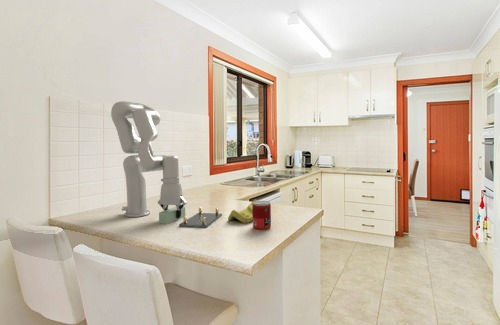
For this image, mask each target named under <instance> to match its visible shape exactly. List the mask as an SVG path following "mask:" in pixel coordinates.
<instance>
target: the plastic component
mask: <svg viewBox="0 0 500 325" xmlns="http://www.w3.org/2000/svg"><path fill="white" fill-rule="evenodd" d="M255 201H258V200H257V199H254V200H252V202H251V203H250V204H249V205H247V207H246V208H243V209H241V210H240V211H237V210H236V209H233V210H231V212H230V214H228V215H229V216H228V217H227V220H228V221H233V220H235V219H237V220H238V221H240V222H241V223H243V224H248V223H252V222H253V212H252V203H253V202H255Z"/></svg>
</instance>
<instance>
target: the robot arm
mask: <svg viewBox="0 0 500 325" xmlns="http://www.w3.org/2000/svg"><path fill="white" fill-rule="evenodd" d="M110 116H111V120H112V122H113V125H114V127H115V130H116V131H117V136H118V140H119V143H120V146H121V149H122V151H123V153H125V154H130V155H128V156H127V157H125V158H124V160H123V162H122V166H123V171H124V175H125V183H126V184H125V185H126V206H122V208H121V211H123V212H125V213H124V217H127V218H138V217H139V218H140V217H144V216H148V215H150V213H151V211H150V210H149V209H147V208H148V206H147V189H146V188H147V187H146V184H147V183H146V178H145V176H144V175H143V173H147V172H157V171H159V172H161V171H162V178H161V179H160V182H162V184H161V186H160V196H159V198H160V199H159V200H157V204H158V205H159V206H160V207H161V208H162V211H165V210H168V209H169V206H175V207H176V208H177V211H176V218H177V219H178V218H180V217H181V209H182V208H183V207H185V206H186V205H187V204H188V202H187V201H186V200H185V199H184V196H183V189H182V185H181V183H180V174H179V173H180V172H179V171H180V170H179V158H178V156H177V155H164V154H162V155H161V154H160V155H159V154H158V155H155V154H154V150H153V145H152V142H153V141H155V140H156V139H157V138H158V135H159V134H158V132H157V130H156V127H155V126H158V125H160V122H161V115H160V113H159V112H158V111H157V110H156V109H154V108H152V107H149V106H148V105H146V104H142V103H138V102H131V101H118V102H114V103H113V105H112V106H111V112H110ZM128 119H132V120H133V122H134V125H135V127H136V130H137V133H138V135H137V134H136V131H135V128H134V125H133V124H132V122H130V121H129V120H128ZM131 154H132V155H131ZM133 154H134V155H133Z"/></svg>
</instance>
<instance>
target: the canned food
mask: <svg viewBox="0 0 500 325" xmlns="http://www.w3.org/2000/svg"><path fill="white" fill-rule="evenodd" d="M252 202H253V201H252ZM252 202H251V203H252ZM271 208H272V206H271V202H270V201H269V200H267V201H266V200H257V201H255V202H253V203H252V212H253V220H252V227H253V229H254V230H257V231H258V230H259V231H264V230H265V231H266V230H269V229H271V226H272V218H271V217H272V209H271Z"/></svg>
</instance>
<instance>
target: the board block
mask: <svg viewBox="0 0 500 325" xmlns="http://www.w3.org/2000/svg"><path fill="white" fill-rule="evenodd" d="M176 211H177V208H176V206H174V207H171V208H168V210H165V211H164V210H162V211H159V212H158V222H159V224H165V225H169V224H171V223H173V222H176V221H178V220H181V219H183V217H184V216H186V206H184V207H183V208H182V209H181V217H180V218H178V219H177V218H176Z"/></svg>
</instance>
